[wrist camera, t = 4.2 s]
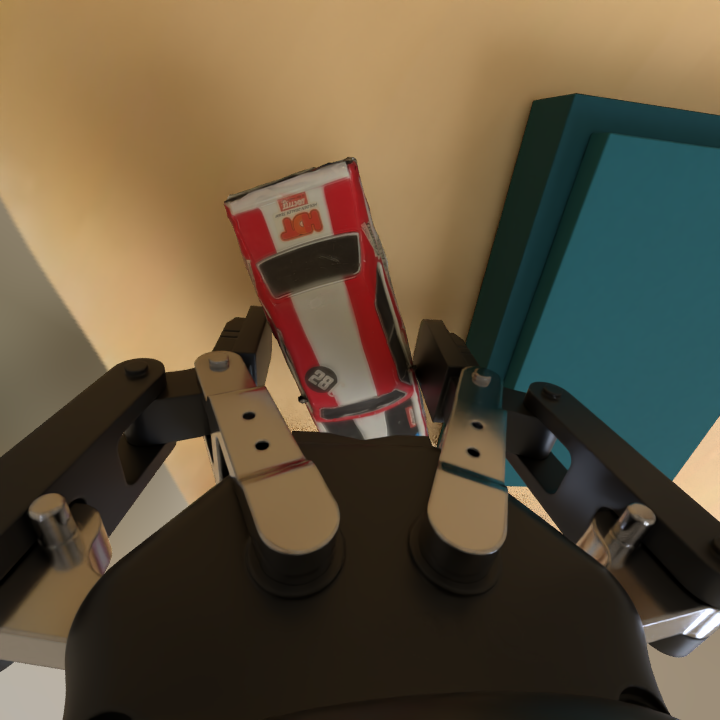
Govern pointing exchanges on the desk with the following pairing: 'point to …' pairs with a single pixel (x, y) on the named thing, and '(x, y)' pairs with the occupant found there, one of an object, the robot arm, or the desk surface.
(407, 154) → the desk surface
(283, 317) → the race car
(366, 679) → the robot arm
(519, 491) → the desk surface
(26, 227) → the desk surface
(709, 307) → the teal stepped rectangular block
